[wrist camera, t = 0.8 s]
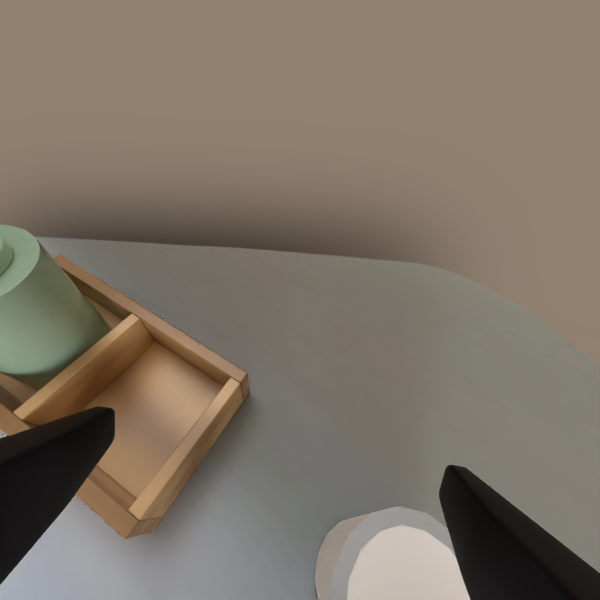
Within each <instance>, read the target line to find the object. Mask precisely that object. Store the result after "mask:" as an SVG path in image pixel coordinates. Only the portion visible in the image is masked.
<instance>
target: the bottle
mask: <svg viewBox="0 0 600 600" xmlns="http://www.w3.org/2000/svg"><path fill="white" fill-rule="evenodd" d="M111 330H112V328H111V326H110V325H109V324H108V322H107V321H106V320H105V319H104V318H103V317H102V315H101V314H100V313H99V312H98V311H97V309H96V308H95V307H94V306H93V305H92V304H91V302H90V301H89V300H88V299H87V298H86V297H85V295H84V294H83V293H82V292H81V291H80V289H79V288H78V287H77V286H76V285H75V284H74V282H73V281H72V280H71V279H70V278H69V277H68V275H67V274H66V273H65V272H64V271H63V270H62V268H61V267H60V266H59V265H58V264H57V262H56V261H55V260H54V259H53V258H52V257H51V255H50V254H49V253H48V252H47V251H46V250H45V248H44V247H43V246H42V245H41V244H40V242H39V241H38V240H37V239H36V238H35V237H34V236H33V235H32V234H31V233H29V232H27V231H26V230H24V229H21V228H18V227H14V226H10V225H2V224H0V373H1V374H3V375H5V376H7V377H9V378H11V379H13V380H15V381H17V382H19V383H21V384H23V385H25V386H27V387H30V388H32V389H35V390H40V389H41V388H43V387H44V386H45V385H46V384H47V383H49V382H50V381H51V380H52V379H53V378H55V377H56V376H57V375H58V374H59V373H61V372H62V371H63V370H64V369H66V368H67V367H68V366H69V365H70V364H72V363H73V362H74V361H75V360H76V359H78V358H79V357H80V356H81V355H82V354H84V353H85V352H86V351H87V350H88V349H90V348H91V347H92V346H93V345H94V344H96V343H97V342H98V341H99V340H100V339H102V338H103V337H104V336H105V335H106V334H108V333H109V332H110V331H111Z"/></svg>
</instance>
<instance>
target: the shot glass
mask: <svg viewBox="0 0 600 600" xmlns="http://www.w3.org/2000/svg"><path fill="white" fill-rule="evenodd" d="M315 584H316V590H317V596H318V600H470V597H469V595H468V592H467V589H466V587H465V584H464V581H463V578H462V575H461V572H460V569H459V566H458V562H457V559H456V556H455V552H454V549H453V545H452V542H451V538H450V534H449V531H448V529H447V528H446V527H445V526H443V525H442V524H441V523H439V522H438V521H437V520H435V519H434V518H433V517H431V516H430V515H429V514H427V513H423V512H419V511H416V510H412V509H408V508H404V507H400V506H397V507H393V508H389V509H385V510H381V511H377V512H373V513H369V514H365V515H361V516H357V517H353V518H349V519H345V520H342V521H340V522H339V523H338V524H337V525H336V526H335V527H334V528H332V529H331V530H330V531H329V532H328V533H327V535H326V537H325V539H324V541H323V543H322V546H321V548H320V550H319V552H318V557H317V565H316V573H315Z"/></svg>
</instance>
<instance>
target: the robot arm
mask: <svg viewBox="0 0 600 600" xmlns="http://www.w3.org/2000/svg"><path fill="white" fill-rule="evenodd" d="M114 437H115V411H114V409H112V408H109V407H103V406H96V407H93V408H90V409H87V410H84V411H81V412H78V413H75V414H72V415H69V416H66V417H63V418H60V419H57V420H54V421H51V422H48V423H45V424H42V425H39V426H36V427H33V428H30V429H27V430H24V431H21V432H18V433H15V434H12V435H10V436H7V437H4V438H1V439H0V584H1V583H2V582H3V581H4V580H5V579H6V577H7V576H8V575H9V574H10V573H11V571H12V570H13V569H14V568H15V567H16V565H17V564H18V563H19V562H20V561H21V560H22V558H23V557H24V556H25V555H26V554H27V552H28V551H29V550H30V549H31V548H32V547H33V545H34V544H35V543H36V542H37V541H38V539H39V538H40V537H41V536H42V535H43V533H44V532H45V531H46V530H47V529H48V528H49V526H50V525H51V524H52V523H53V522H54V520H55V519H56V518H57V517H58V516H59V514H60V513H61V512H62V511H63V510H64V508H65V507H66V506H67V505H68V503H69V502H70V501H71V499H72V498H73V497H74V495H75V494H76V493H77V491H78V490H79V489H80V487H81V486H82V485H83V483H84V482H85V480H86V479H87V478H88V476H89V475H90V473H91V472H92V471H93V469H94V468H95V466H96V465H97V464H98V462H99V461H100V459H101V458H102V457H103V455H104V454H105V452H106V451H107V450H108V448H109V447H110V446H111V444H112V442H113V440H114ZM439 498H440V503H441V506H442V510H443V513H444V517H445V520H446V524H447V527H448V531H449V534H450V538H451V542H452V545H453V549H454V552H455V556H456V559H457V562H458V566H459V569H460V572H461V575H462V578H463V581H464V584H465V587H466V589H467V592H468V595H469V597H470V600H600V573H599V572H597V571H596V570H595V569H594V568H592V567H591V566H590V565H589V564H587V563H586V562H585V561H583V560H582V559H581V558H580V557H578V556H577V555H576V554H575V553H573V552H572V551H571V550H569V549H568V548H567V547H566V546H564V545H563V544H562V543H561V542H559V541H558V540H557V539H556V538H554V537H553V536H552V535H550V534H549V533H548V532H547V531H545V530H544V529H543V528H542V527H540V526H539V525H538V524H537V523H535V522H534V521H533V520H531V519H530V518H529V517H528V516H526V515H525V514H524V513H523V512H521V511H520V510H519V509H517V508H516V507H515V506H514V505H512V504H511V503H510V502H509V501H507V500H506V499H505V498H504V497H502V496H501V495H500V494H498V493H497V492H496V491H495V490H493V489H492V488H491V487H490V486H488V485H487V484H486V483H485V482H483V481H482V480H481V479H479V478H478V477H477V476H476V475H474V474H473V473H472V472H471V471H469V470H468V469H467V468H465V467H461V466H455V465H448V466H447V467H446V470H445V473H444V476H443V480H442V483H441V487H440V491H439Z"/></svg>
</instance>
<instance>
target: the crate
mask: <svg viewBox="0 0 600 600" xmlns="http://www.w3.org/2000/svg"><path fill="white" fill-rule="evenodd" d="M54 260H55V261H56V262H57V264H58V265H59V266H60V267H61V268H62V270H63V271H64V272H65V273H66V274H67V275H68V277H69V278H70V279H71V280H72V281H73V282H74V284H75V285H76V286H77V287H78V288H79V289H80V291H81V292H82V293H83V294H84V295H85V297H86V298H87V299H88V300H89V301H90V302H91V304H92V305H93V306H94V307H95V308H96V309H97V311H98V312H99V313H100V314H101V315H102V317H103V318H104V319H105V320H106V321H107V322H108V324H109V325H110V326H111V328H112V330H111V331H110V332H109V333H108V334H106V335H105V336H104V337H103V338H102V339H100V340H99V341H98V342H97V343H96V344H94V345H93V346H92V347H91V348H90V349H88V350H87V351H86V352H85V353H84V354H82V355H81V356H80V357H79V358H78V359H76V360H75V361H74V362H73V363H72V364H70V365H69V366H68V367H67V368H66V369H64V370H63V371H62V372H61V373H59V374H58V375H57V376H56V377H55V378H53V379H52V380H51V381H50V382H49V383H47V384H46V385H45V386H44V387H43V388H41V389H40V390H35V389H32V388H30V387H27V386H25V385H23V384H21V383H19V382H17V381H15V380H13V379H11V378H9V377H7V376H5V375H3V374H1V373H0V429H1V430H2V431H3V432H4V433H6V434H7V435H8V436H10V435H12V434H15V433H18V432H21V431H24V430H27V429H30V428H33V427H36V426H39V425H42V424H45V423H48V422H51V421H54V420H57V419H60V418H63V417H66V416H69V415H72V414H75V413H78V412H81V411H84V410H87V409H90V408H93V407H96V406H103V407H109V408H112V409H114V411H115V437H114V440H113V442H112V444H111V446H110V447H109V448H108V450H107V451H106V452H105V454H104V455H103V457H102V458H101V459H100V461H99V462H98V464H97V465H96V466H95V468H94V469H93V471H92V472H91V473H90V475H89V476H88V478H87V479H86V480H85V482H84V483H83V485H82V486H81V487H80V489H79V490H78V491H77V493H76V494H75V495H76V496H77V497H78V498H79V499H80V500H81V501H82V502H83V503H85V504H86V505H87V506H88V507H89V508H90V509H91V510H92V511H94V512H95V513H96V514H97V515H98V516H99V517H100V518H101V519H103V520H104V521H105V522H106V523H107V524H108V525H109V526H110V527H112V528H113V529H114V530H115V531H116V532H117V533H118V534H119V535H121V536H122V537H123V538H124V539H128V538H131V537H135V536H138V535H142V534H145V533H149V532H152V531H153V530H154V528H155V527H156V525H157V524H158V523H159V521H160V520H161V518H162V517H163V515H164V514H165V512H166V511H167V510H168V508H169V507H170V505H171V504H172V502H173V501H174V500H175V498H176V497H177V495H178V494H179V492H180V491H181V490H182V488H183V487H184V485H185V484H186V482H187V481H188V480H189V478H190V477H191V475H192V474H193V472H194V471H195V470H196V468H197V467H198V465H199V464H200V462H201V461H202V460H203V458H204V457H205V455H206V454H207V452H208V451H209V450H210V448H211V447H212V445H213V444H214V442H215V441H216V440H217V438H218V437H219V435H220V434H221V432H222V431H223V430H224V428H225V427H226V425H227V424H228V422H229V421H230V419H231V418H232V417H233V415H234V414H235V412H236V411H237V409H238V408H239V407H240V405H241V404H242V402H243V401H244V399H245V398H246V397H247V395H248V394H249V383H248V373H247V372H245V371H244V370H242V369H240V368H239V367H237V366H236V365H234V364H232V363H231V362H229V361H228V360H226V359H224V358H223V357H221V356H220V355H218V354H217V353H215V352H213V351H212V350H210V349H209V348H207V347H205V346H204V345H202V344H201V343H199V342H198V341H196V340H194V339H193V338H191V337H190V336H188V335H186V334H185V333H183V332H182V331H180V330H178V329H177V328H175V327H174V326H172V325H171V324H169V323H167V322H166V321H164V320H163V319H161V318H159V317H158V316H156V315H155V314H153V313H152V312H150V311H148V310H147V309H145V308H144V307H142V306H140V305H139V304H137V303H136V302H134V301H132V300H131V299H129V298H128V297H126V296H125V295H123V294H121V293H120V292H118V291H117V290H115V289H113V288H112V287H110V286H109V285H107V284H106V283H104V282H102V281H101V280H99V279H98V278H96V277H94V276H93V275H91V274H90V273H88V272H86V271H85V270H83V269H82V268H80V267H79V266H77V265H75V264H74V263H72V262H71V261H69V260H67V259H66V258H64V257H63V256H61V255H59V256H57V257H55V258H54Z"/></svg>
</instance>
